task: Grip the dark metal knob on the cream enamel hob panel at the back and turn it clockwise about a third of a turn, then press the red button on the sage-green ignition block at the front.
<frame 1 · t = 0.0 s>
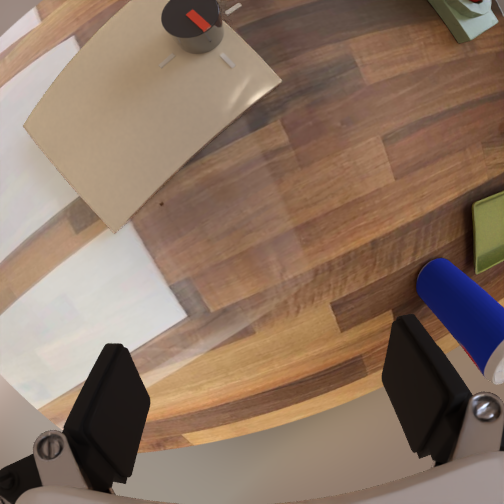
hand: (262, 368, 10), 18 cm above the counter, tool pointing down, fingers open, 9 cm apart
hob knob: (194, 23, 16), point 5 cm above the counter, hinge at 0.0°
green square tray: (489, 223, 27), on the counter
beverage can: (431, 276, 30), on the counter
hob panel: (143, 98, 22), on the counter
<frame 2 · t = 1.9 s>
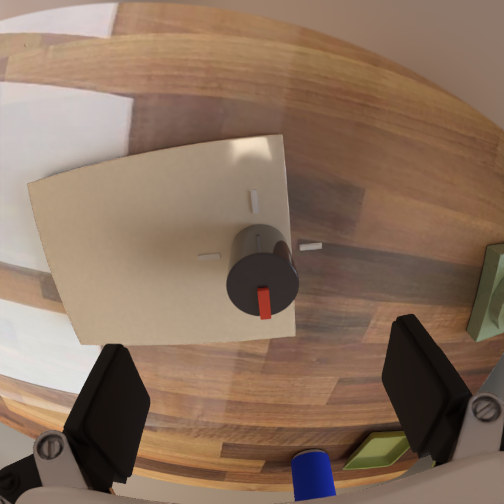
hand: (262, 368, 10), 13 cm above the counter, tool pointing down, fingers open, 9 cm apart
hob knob: (261, 268, 17), point 5 cm above the counter, hinge at 0.0°
green square tray: (378, 442, 34), on the counter
beverage can: (309, 455, 34), on the counter
hob panel: (164, 245, 22), on the counter
ignition block: (498, 286, 24), on the counter
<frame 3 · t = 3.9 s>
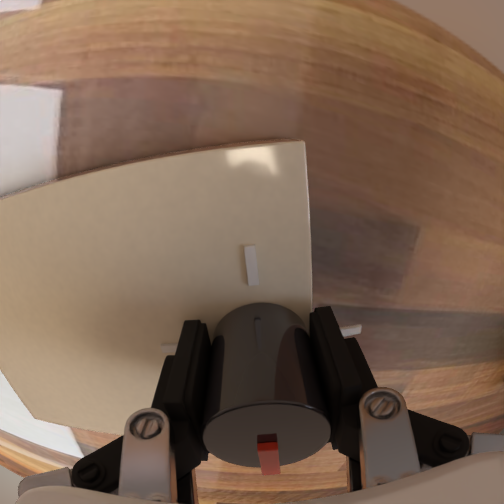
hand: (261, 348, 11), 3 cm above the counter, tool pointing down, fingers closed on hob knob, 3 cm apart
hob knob: (263, 387, 9), point 5 cm above the counter, hinge at -0.1°, touching gripper
hob panel: (118, 310, 14), on the counter
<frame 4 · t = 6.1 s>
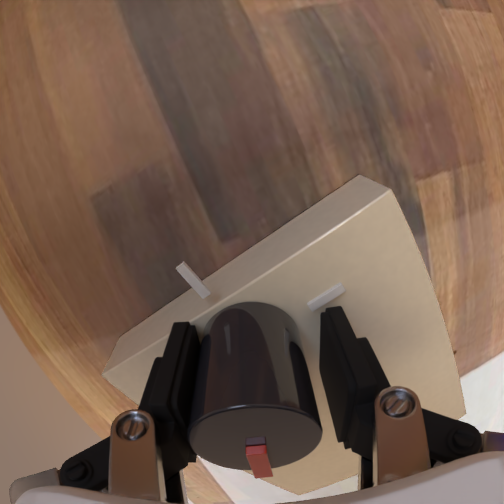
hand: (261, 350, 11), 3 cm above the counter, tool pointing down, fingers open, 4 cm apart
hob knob: (253, 389, 9), point 5 cm above the counter, hinge at -117.0°
hob panel: (321, 379, 16), on the counter
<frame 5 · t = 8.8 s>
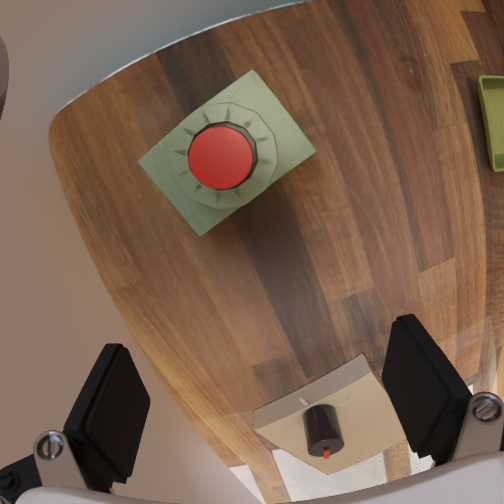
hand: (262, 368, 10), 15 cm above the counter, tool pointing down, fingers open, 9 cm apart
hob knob: (322, 432, 26), point 5 cm above the counter, hinge at -117.0°
green square tray: (500, 120, 20), on the counter
hob panel: (341, 418, 33), on the counter
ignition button: (221, 156, 17), point 4 cm above the counter, slide at 0.1 cm
ignition block: (226, 151, 21), on the counter
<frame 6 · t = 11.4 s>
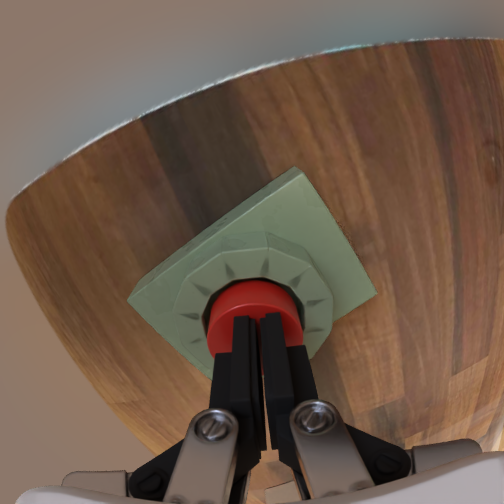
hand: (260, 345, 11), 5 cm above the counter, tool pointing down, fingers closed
hob panel: (350, 487, 28), on the counter
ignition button: (254, 330, 12), point 4 cm above the counter, slide at 0.0 cm, touching gripper
ignition block: (251, 278, 16), on the counter
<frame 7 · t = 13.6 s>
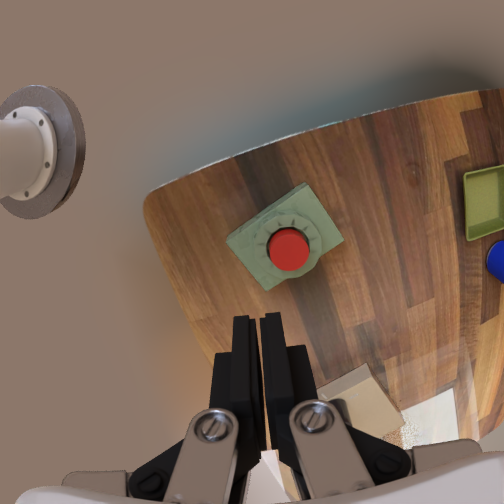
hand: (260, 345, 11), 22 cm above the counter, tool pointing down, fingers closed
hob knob: (337, 418, 37), point 5 cm above the counter, hinge at -117.0°
green square tray: (479, 197, 31), on the counter
beverage can: (495, 255, 34), on the counter
hob panel: (349, 410, 44), on the counter
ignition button: (288, 249, 29), point 4 cm above the counter, slide at 0.1 cm
ignition block: (284, 234, 33), on the counter
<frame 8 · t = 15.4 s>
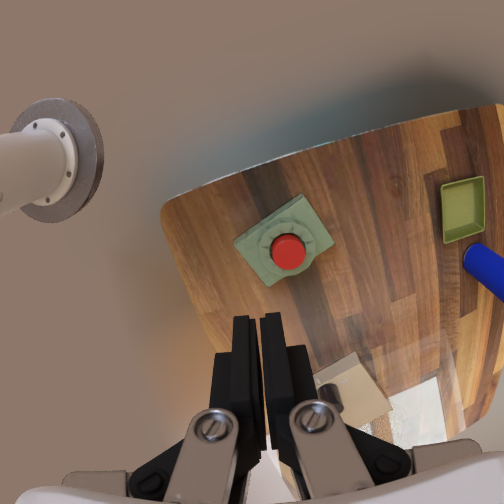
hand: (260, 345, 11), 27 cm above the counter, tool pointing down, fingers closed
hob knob: (330, 401, 43), point 5 cm above the counter, hinge at -117.0°
green square tray: (456, 205, 37), on the counter
beverage can: (472, 256, 40), on the counter
hob panel: (340, 396, 50), on the counter
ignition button: (288, 252, 34), point 4 cm above the counter, slide at 0.1 cm
ignition block: (283, 238, 38), on the counter
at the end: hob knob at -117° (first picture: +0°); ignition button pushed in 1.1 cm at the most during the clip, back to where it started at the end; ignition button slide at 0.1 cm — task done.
